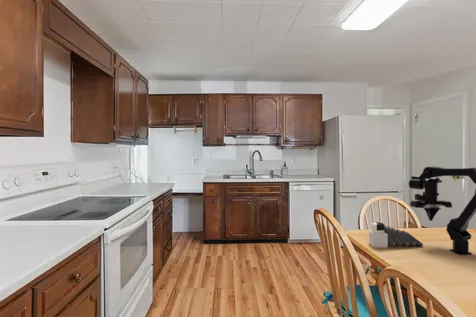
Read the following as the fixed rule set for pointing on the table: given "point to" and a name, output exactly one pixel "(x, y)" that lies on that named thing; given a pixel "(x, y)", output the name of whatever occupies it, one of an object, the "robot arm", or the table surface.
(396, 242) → the domino
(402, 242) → the domino
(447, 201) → the robot arm
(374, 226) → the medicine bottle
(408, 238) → the domino
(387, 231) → the domino
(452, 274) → the table surface
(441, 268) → the table surface
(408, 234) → the domino
